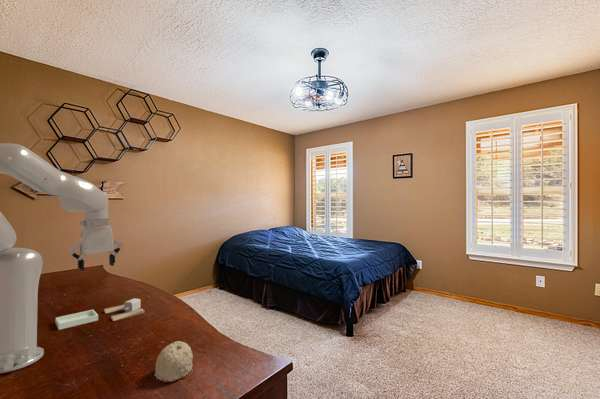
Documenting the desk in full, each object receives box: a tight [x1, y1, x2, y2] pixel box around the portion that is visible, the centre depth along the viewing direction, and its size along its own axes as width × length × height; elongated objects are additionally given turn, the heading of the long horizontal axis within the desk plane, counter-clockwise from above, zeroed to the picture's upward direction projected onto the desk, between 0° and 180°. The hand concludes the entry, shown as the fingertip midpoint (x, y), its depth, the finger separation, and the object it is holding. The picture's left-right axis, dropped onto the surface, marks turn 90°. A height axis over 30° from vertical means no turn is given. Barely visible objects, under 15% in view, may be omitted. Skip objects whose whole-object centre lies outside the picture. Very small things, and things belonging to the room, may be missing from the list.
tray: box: [54, 309, 99, 331], centre depth 108 cm, size 8×12×2 cm
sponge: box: [154, 340, 194, 381], centre depth 76 cm, size 9×10×10 cm
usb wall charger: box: [122, 297, 142, 313], centre depth 119 cm, size 4×7×4 cm, turn 164°
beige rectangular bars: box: [103, 304, 146, 322], centre depth 117 cm, size 14×11×1 cm
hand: (97, 267), depth 111 cm, fingers open, 9 cm apart
